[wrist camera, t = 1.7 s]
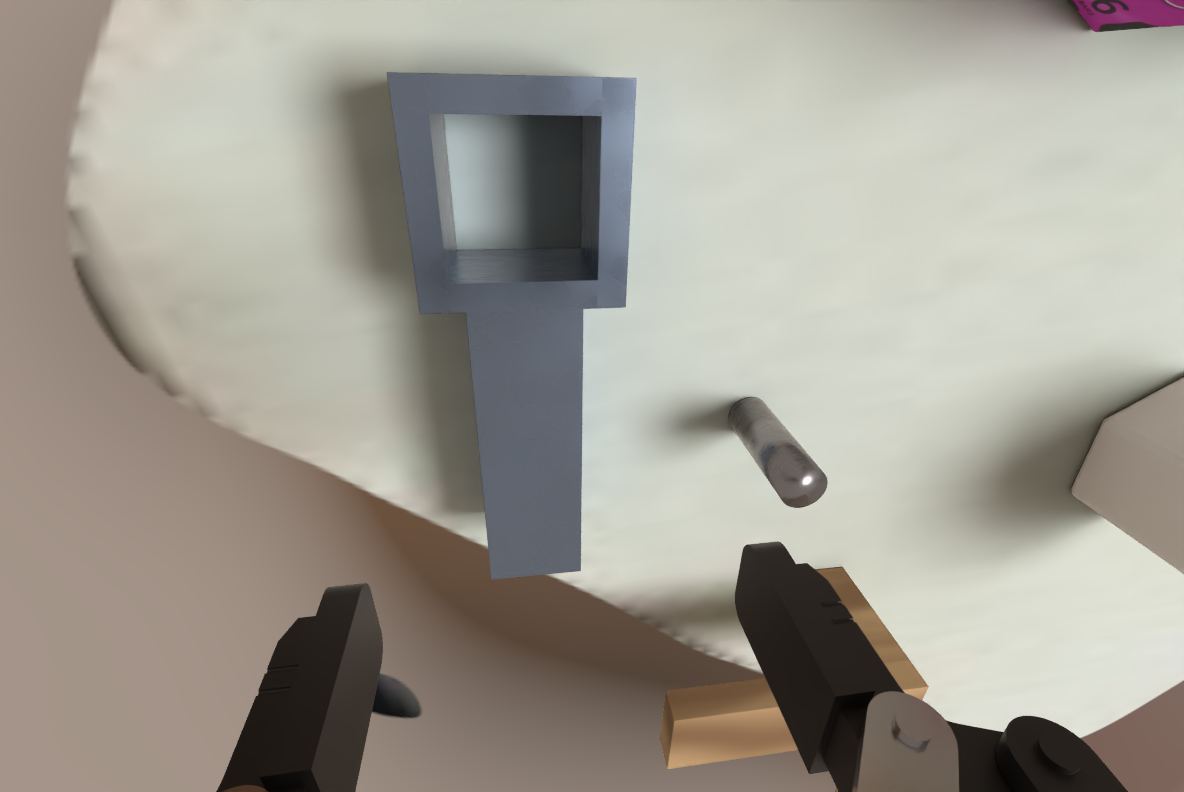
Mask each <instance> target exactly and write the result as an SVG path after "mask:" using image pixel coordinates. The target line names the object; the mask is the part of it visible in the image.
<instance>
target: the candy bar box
mask: <svg viewBox="0 0 1184 792" xmlns="http://www.w3.org/2000/svg"><path fill="white" fill-rule="evenodd" d="M1069 1H1070V2H1071V4H1072V5H1073V6H1074V8H1075V9H1076V10H1077V11H1078V12H1079V13H1080V15H1081V16H1082V17H1083V18H1084V20H1085V21H1086V22H1087V23H1088V25H1089V26H1090V27H1091V28H1092V30H1093V31H1095V32H1103V31H1115V30H1127V29H1139V28H1151V27H1167V26H1177V25H1184V0H1069Z"/></svg>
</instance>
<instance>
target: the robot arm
mask: <svg viewBox="0 0 1184 792" xmlns="http://www.w3.org/2000/svg"><path fill="white" fill-rule="evenodd" d="M735 604H736V610H737V614H738V618H739V621H740V623H741V625H742V628H743V630H744V632H745V634H746V636H747V639H748V641H749V643H750V645H751V647H752V650H753V652H754V654H755V656H756V658H757V661H758V663H759V665H760V667H761V669H762V671H763V674H764V676H765V678H766V680H767V682H768V685H769V687H770V689H771V691H772V693H773V696H774V698H775V700H776V702H777V704H778V707H779V709H780V711H781V713H782V715H783V718H784V720H785V722H786V724H787V726H788V729H789V731H790V733H791V735H792V737H793V740H794V742H795V744H796V746H797V748H798V750H799V753H800V755H801V757H802V759H803V762H804V764H805V766H806V768H807V770H808V773H809V774H813V773H819V772H825V771H829V772H830V774H831V776H832V778H833V781H834V783H835V785H836V790H835V792H1128V791H1127V790H1126V789H1125V788H1124V787H1123V786H1122V784H1121V783H1120V782H1119V781H1118V779H1117V778H1116V777H1115V776H1114V775H1113V773H1112V772H1111V771H1110V770H1109V769H1108V768H1107V766H1106V765H1105V764H1104V763H1103V762H1102V760H1101V759H1100V758H1099V757H1098V756H1097V754H1096V753H1095V752H1094V751H1093V750H1092V749H1091V748H1090V747H1089V746H1088V745H1087V744H1086V743H1085V742H1084V741H1082V740H1081V739H1080V738H1079V737H1078V736H1076V735H1075V734H1074V733H1072V732H1071V731H1069V730H1067V729H1066V728H1064V727H1062V726H1060V725H1059V724H1057V723H1054V722H1052V721H1049V720H1047V719H1044V718H1040V717H1035V716H1021V717H1017V718H1015V719H1013V720H1012V721H1011V722H1010V723H1009V724H1008V726H1007V728H1006V729H1005V731H1004V732H999V731H994V730H988V729H983V728H977V727H972V726H967V725H961V724H957V723H953V722H949V721H946V720H945V719H944V718H943V717H942V716H941V715H940V714H939V713H938V712H937V711H936V710H935V709H934V708H932V707H931V706H930V705H928V704H927V703H925V702H924V701H922V700H920V699H918V698H916V697H914V696H912V695H909V694H906V693H905V692H904V691H903V690H902V689H901V687H900V686H899V685H898V683H897V682H896V680H895V679H894V677H893V676H892V674H891V673H890V671H889V670H888V668H887V667H886V666H885V664H884V663H883V661H882V660H881V658H880V657H879V655H878V654H877V652H876V651H875V649H874V648H873V646H872V645H871V643H870V642H869V640H868V639H867V637H866V636H865V634H864V633H863V631H862V630H861V628H860V627H859V625H858V624H857V623H856V622H854V621H853V617H852V615H851V614H850V612H849V611H848V609H847V608H846V606H845V605H843V604H842V600H841V599H840V597H839V596H838V594H837V593H836V591H835V590H834V588H833V587H832V585H831V584H830V583H829V581H828V580H827V579H826V578H825V577H823V576H822V575H821V574H820V573H818V572H817V571H816V570H815V569H814V568H812V567H811V566H810V565H809V564H807V563H804V564H795V562H794V560H793V559H792V557H791V556H790V554H789V552H788V551H787V549H786V548H785V546H784V545H783V544H782V543H781V542H769V543H760V544H750V545H746V546H745V547H744V549H743V552H742V558H741V563H740V569H739V575H738V580H737V586H736V592H735ZM382 653H383V642H382V633H381V629H380V625H379V621H378V617H377V613H376V609H375V605H374V601H373V598H372V594H371V590H370V587H369V585H368V584H367V583H364V584H355V585H345V586H335V587H328V588H327V589H326V590H325V592H324V595H323V597H322V600H321V602H320V605H319V608H318V611H317V614H316V616H313V617H304V618H298V619H297V620H296V621H295V622H294V624H293V625H292V626H291V627H290V628H289V630H288V631H287V632H286V633H285V634H284V635H283V637H282V638H281V639H280V640H279V641H278V643H277V646H276V648H275V650H274V653H273V655H272V658H271V661H270V663H269V665H268V668H267V669H268V671H267V673H266V674H265V675H264V678H263V680H262V683H261V685H260V688H259V694H258V696H256V698H255V700H254V703H253V705H252V708H251V710H250V713H249V715H248V717H247V720H246V722H245V725H244V728H243V730H242V732H241V735H240V737H239V740H238V742H237V745H236V747H235V750H234V752H233V755H232V757H231V760H230V762H229V765H228V767H227V770H226V772H225V775H224V777H223V780H222V782H221V784H220V786H219V788H218V790H217V791H216V792H355V790H356V785H357V780H358V776H359V771H360V765H361V761H362V756H363V751H364V746H365V742H366V736H367V732H368V727H369V722H370V717H371V713H372V708H373V703H374V698H375V693H376V688H377V683H378V679H379V674H380V669H381V663H382Z"/></svg>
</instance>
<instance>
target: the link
mask: <svg viewBox="0 0 1184 792" xmlns="http://www.w3.org/2000/svg"><path fill="white" fill-rule="evenodd" d="M387 77H388V84H389V91H390V98H391V106H392V113H393V120H394V128H395V135H396V142H397V149H398V157H399V164H400V171H401V179H402V186H403V193H404V200H405V208H406V215H407V222H408V230H409V237H410V244H411V251H412V259H413V266H414V273H415V281H416V288H417V295H418V303H419V310H420V314H438V313H466V320H467V330H468V341H469V351H470V361H471V372H472V382H473V393H474V403H475V414H476V424H477V434H478V445H479V455H480V466H481V476H482V487H483V497H484V508H485V518H486V528H487V539H488V549H489V560H490V570H491V579H501V578H512V577H522V576H532V575H543V574H553V573H564V572H574V571H581V481H582V379H583V309H591V308H621V307H626V287H627V267H628V246H629V225H630V204H631V183H632V162H633V141H634V120H635V99H636V78H614V77H570V76H526V75H483V74H439V73H396V72H387ZM443 114H495V115H569V116H582V233H581V248H549V249H494V250H457V247H456V237H455V227H454V216H453V206H452V196H451V186H450V176H449V166H448V155H447V145H446V135H445V125H444V115H443Z"/></svg>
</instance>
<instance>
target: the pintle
mask: <svg viewBox="0 0 1184 792" xmlns="http://www.w3.org/2000/svg"><path fill="white" fill-rule="evenodd" d="M729 423H730V425H731V427H732V428H733V430H734V431H735V433H736V434H737V435H738V437H739V438H740V440H741V441H742V443H743V444H744V446H745V447H746V449H747V450H748V451H749V453H750V454H751V456H752V457H753V459H754V460H755V462H756V463H757V465H758V466H759V467H760V469H761V470H762V472H763V473H764V475H765V476H766V478H767V479H768V481H769V482H770V483H771V485H772V486H773V488H774V489H775V491H776V492H777V494H778V495H779V497H780V498H781V499H782V501H783V502H784V503H785V504H786V505H788V506H790V507H794V508H800V507H805V506H808V505H810V504H812V503H814V502H815V501H817V500H818V499H819V498H820V497H821V496H822V495H823V494H824V492H825V490H826V488H827V477H826V475H825V474H824V473H823V472H822V470H821V469H820V468H819V467H818V466H817V464H816V463H815V462H814V461H813V460H812V459H811V457H810V456H809V455H808V454H807V453H806V451H805V450H804V449H803V448H802V447H801V446H800V444H799V443H798V442H797V441H796V440H795V438H794V437H793V436H792V435H791V434H790V433H789V431H788V430H787V429H786V428H785V427H784V425H783V424H782V423H781V422H780V421H779V420H778V418H777V417H776V416H775V415H774V414H773V412H772V411H771V410H770V409H769V408H768V407H767V405H766V404H765V403H764V402H763V401H762V400H761V399H759V398H755V397H749V398H745V399H742V400H740V401H739V402H737V403H736V404H735V405H734V406H733V407H732V409H731V410H730V413H729Z"/></svg>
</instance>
